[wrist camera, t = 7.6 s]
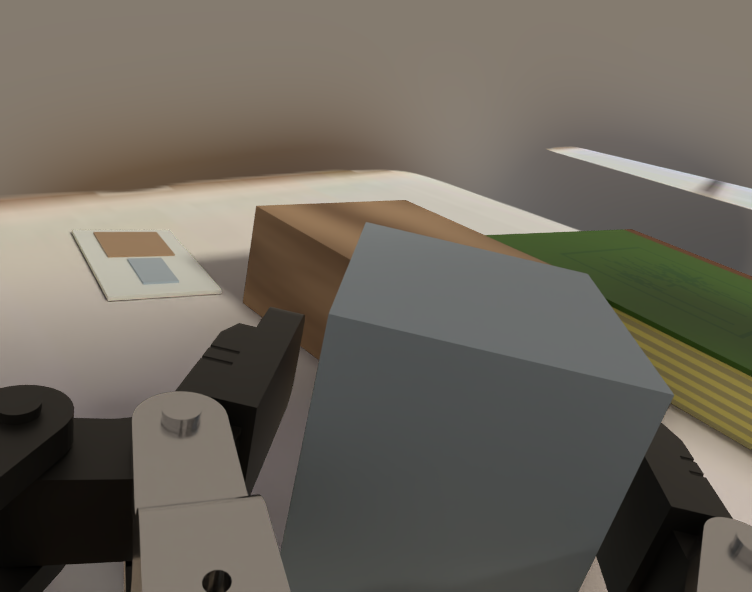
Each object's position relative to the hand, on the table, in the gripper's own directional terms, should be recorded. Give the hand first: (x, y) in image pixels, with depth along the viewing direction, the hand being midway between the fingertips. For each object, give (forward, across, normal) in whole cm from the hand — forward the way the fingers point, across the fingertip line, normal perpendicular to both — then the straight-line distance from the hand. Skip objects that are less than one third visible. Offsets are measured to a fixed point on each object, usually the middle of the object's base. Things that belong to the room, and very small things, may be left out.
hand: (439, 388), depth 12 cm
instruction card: (+16, +13, +6) cm, 22 cm away
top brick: (-2, 0, +6) cm, 6 cm away
